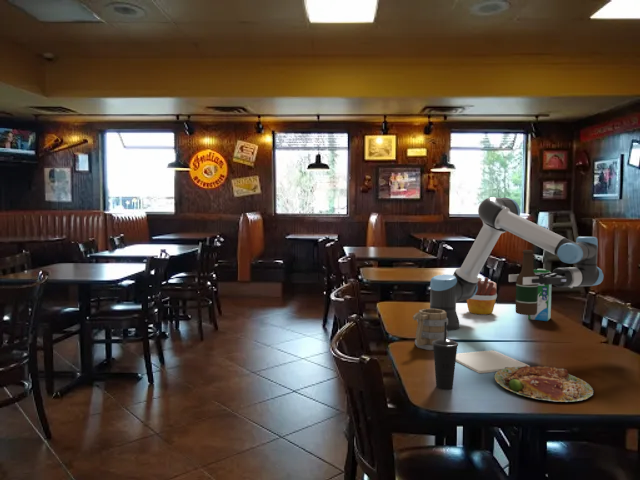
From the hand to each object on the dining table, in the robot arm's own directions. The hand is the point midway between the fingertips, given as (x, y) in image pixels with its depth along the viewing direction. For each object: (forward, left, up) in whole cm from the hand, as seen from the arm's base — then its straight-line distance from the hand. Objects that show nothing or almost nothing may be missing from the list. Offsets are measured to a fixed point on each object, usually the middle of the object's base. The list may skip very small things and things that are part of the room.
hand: (516, 279), depth 189 cm
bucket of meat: (-68, +33, -28) cm, 81 cm away
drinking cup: (+25, -45, -28) cm, 59 cm away
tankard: (-16, -28, -28) cm, 43 cm away
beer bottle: (0, +5, -13) cm, 14 cm away
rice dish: (+33, -16, -28) cm, 46 cm away
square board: (+7, -17, -28) cm, 33 cm away
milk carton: (-48, +53, -28) cm, 77 cm away
